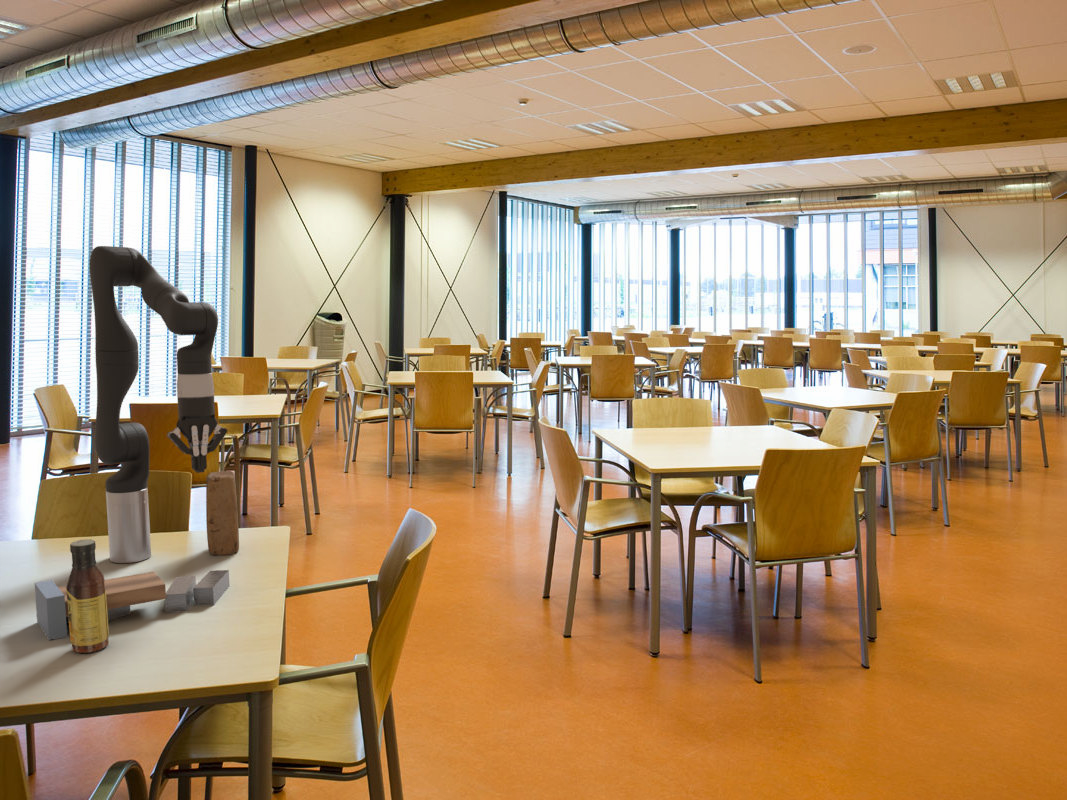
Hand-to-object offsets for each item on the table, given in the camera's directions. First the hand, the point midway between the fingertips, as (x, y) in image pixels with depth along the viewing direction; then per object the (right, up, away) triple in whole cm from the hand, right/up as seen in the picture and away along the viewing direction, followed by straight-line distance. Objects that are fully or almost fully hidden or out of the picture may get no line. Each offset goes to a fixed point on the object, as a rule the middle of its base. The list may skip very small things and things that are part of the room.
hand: (199, 471), depth 194 cm
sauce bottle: (-6, -29, -35) cm, 46 cm away
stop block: (-18, -28, -26) cm, 42 cm away
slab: (-10, -24, -20) cm, 33 cm away
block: (-4, -22, +27) cm, 36 cm away
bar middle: (0, -27, -11) cm, 29 cm away
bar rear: (+5, -26, -7) cm, 28 cm away
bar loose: (-12, -28, -22) cm, 37 cm away
